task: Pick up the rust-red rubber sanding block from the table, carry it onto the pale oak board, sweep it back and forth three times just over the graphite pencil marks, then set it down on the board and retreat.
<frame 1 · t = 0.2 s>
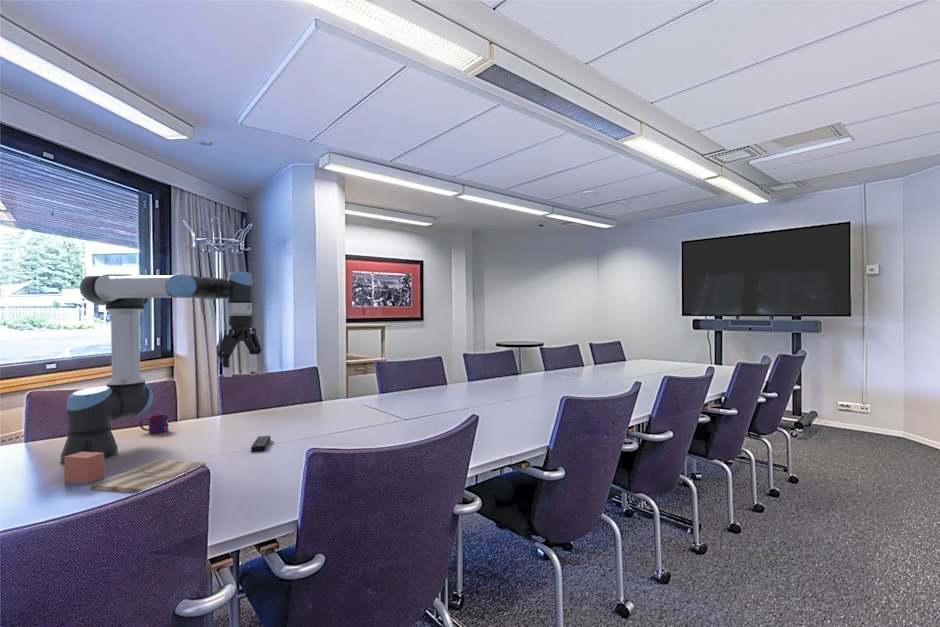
hand: (240, 374, 160), 28 cm above the table, fingers open, 13 cm apart
board: (152, 477, 135), on the table
mug: (154, 433, 187), on the table
multiport hub: (261, 447, 166), on the table
sanding block: (84, 481, 132), on the table
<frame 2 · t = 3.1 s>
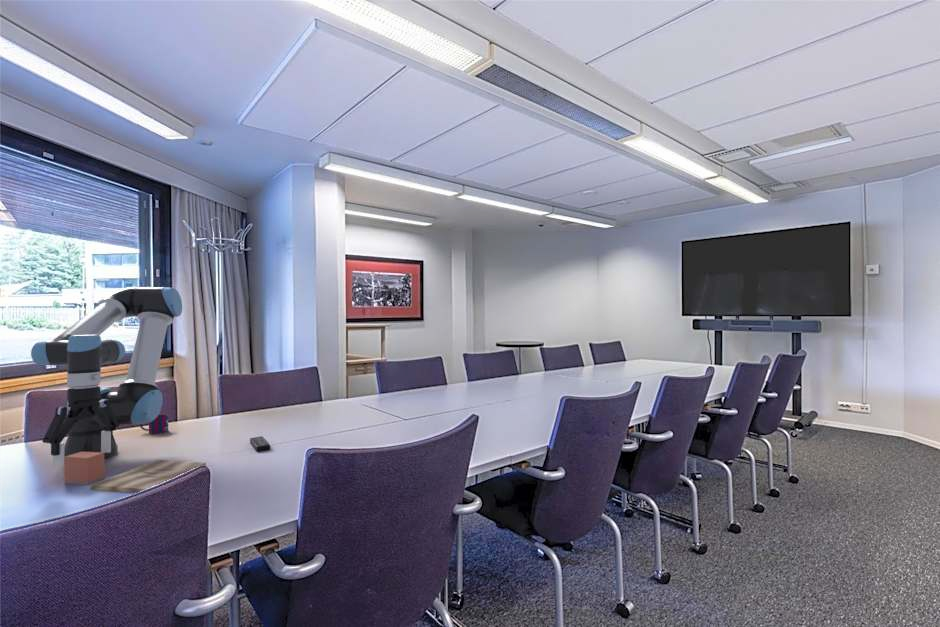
hand: (83, 459, 131), 7 cm above the table, fingers open, 13 cm apart
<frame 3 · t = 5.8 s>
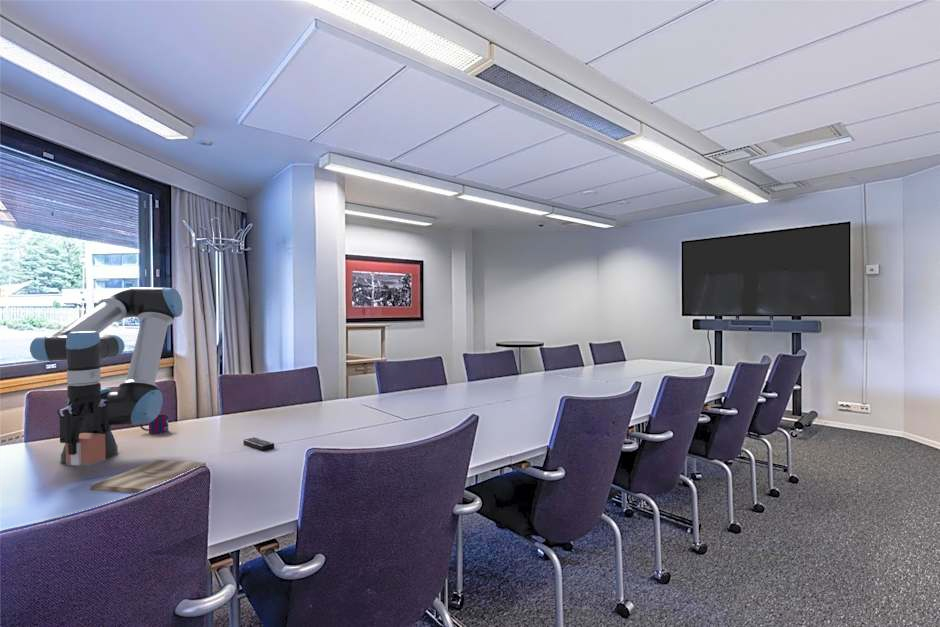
hand: (86, 461, 133), 6 cm above the table, fingers closed on sanding block, 5 cm apart
sanding block: (86, 462, 133), point 5 cm above the table, touching gripper
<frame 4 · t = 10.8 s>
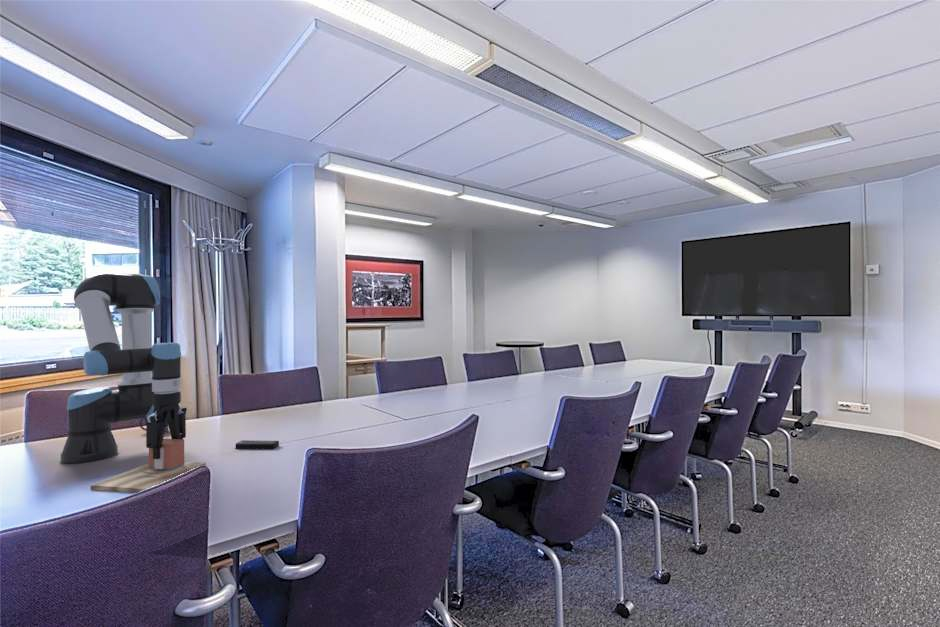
hand: (166, 465, 140), 2 cm above the table, fingers closed on sanding block, 5 cm apart
sanding block: (166, 466, 140), point 1 cm above the table, touching gripper
when the fingers open (2 cm above the table, at t = 15.8 s): sanding block stays where it is, resting on board.
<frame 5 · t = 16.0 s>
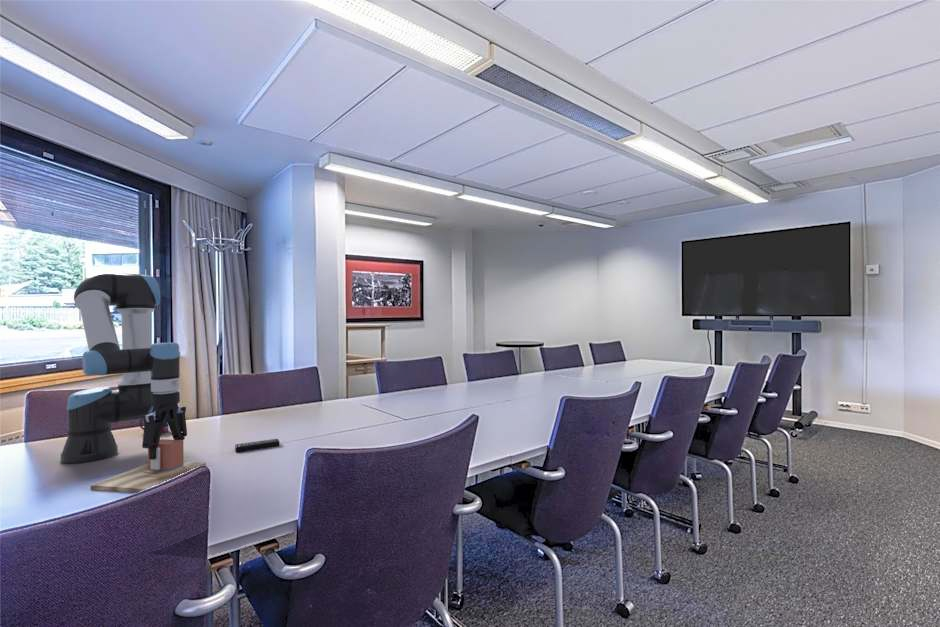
hand: (165, 464, 140), 2 cm above the table, fingers open, 7 cm apart
sanding block: (165, 467, 140), point 1 cm above the table, touching board
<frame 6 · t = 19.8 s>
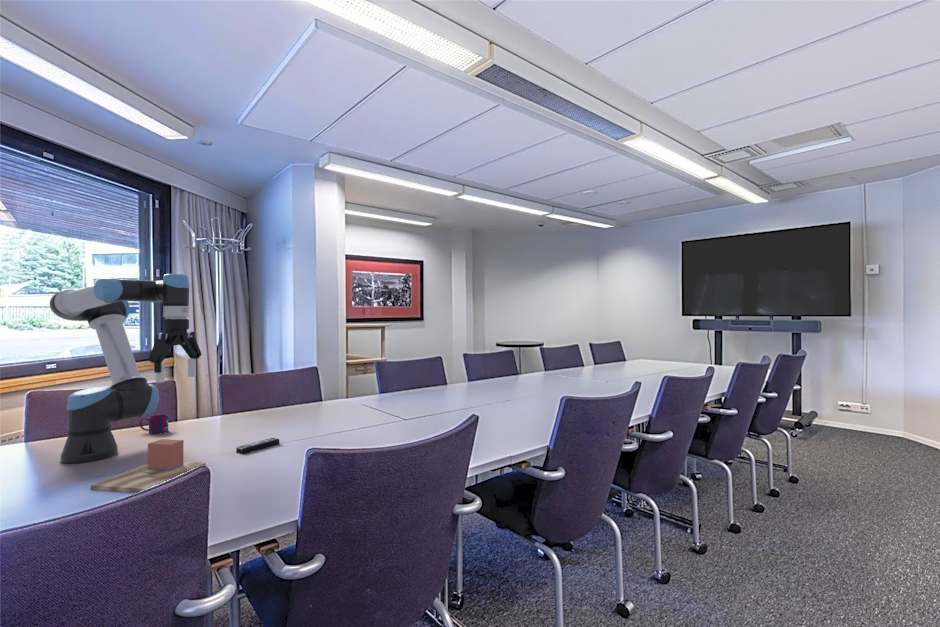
hand: (176, 379, 155), 27 cm above the table, fingers open, 13 cm apart
at the end: sanding block inside the target area on the board (5.0 cm from its centre), point 1.2 cm above the board's base; sanding block tilted 1°; the gripper is holding nothing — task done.
